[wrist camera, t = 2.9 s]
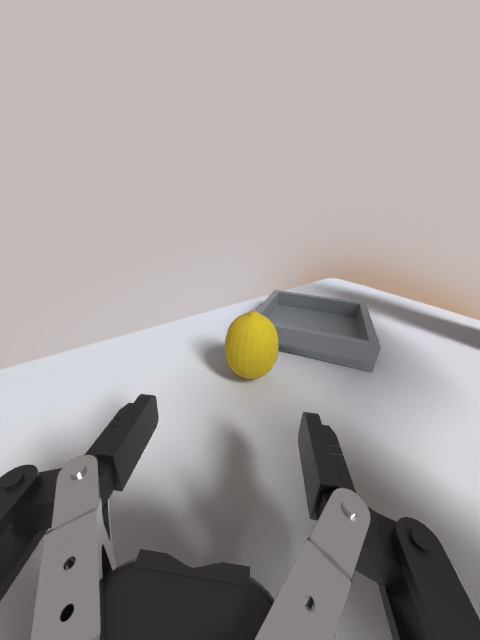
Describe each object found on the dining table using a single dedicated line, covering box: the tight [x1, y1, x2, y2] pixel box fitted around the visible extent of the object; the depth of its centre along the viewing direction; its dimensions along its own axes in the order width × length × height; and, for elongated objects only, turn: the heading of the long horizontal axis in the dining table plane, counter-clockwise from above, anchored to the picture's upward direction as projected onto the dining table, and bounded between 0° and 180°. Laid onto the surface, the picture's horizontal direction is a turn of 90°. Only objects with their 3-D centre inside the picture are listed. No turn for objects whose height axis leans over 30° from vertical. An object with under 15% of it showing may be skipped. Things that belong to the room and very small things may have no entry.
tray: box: [256, 290, 380, 372], centre depth 36 cm, size 16×16×4 cm
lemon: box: [225, 311, 278, 379], centre depth 24 cm, size 6×6×8 cm
